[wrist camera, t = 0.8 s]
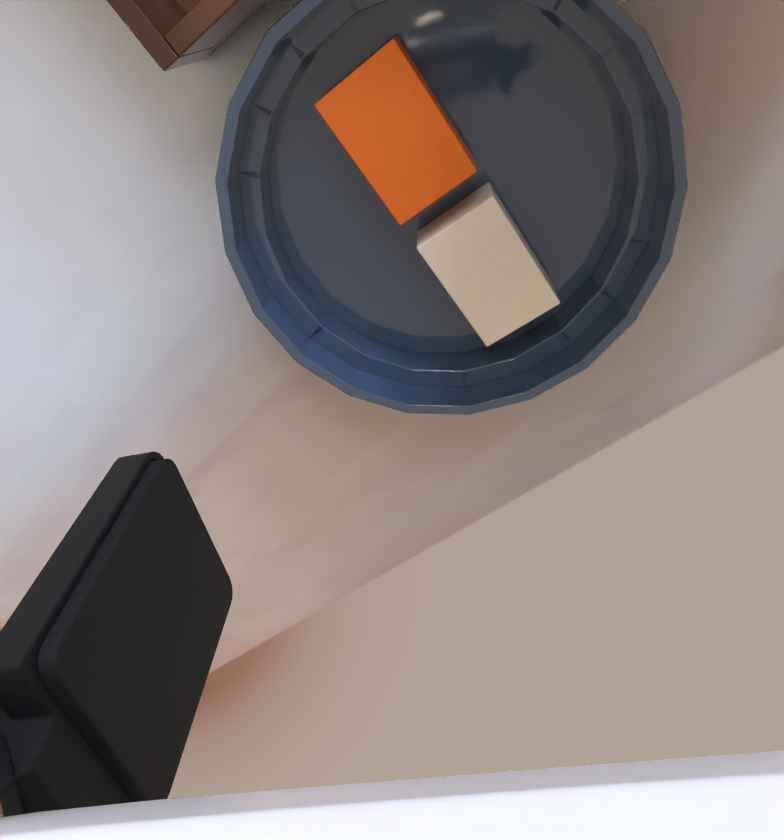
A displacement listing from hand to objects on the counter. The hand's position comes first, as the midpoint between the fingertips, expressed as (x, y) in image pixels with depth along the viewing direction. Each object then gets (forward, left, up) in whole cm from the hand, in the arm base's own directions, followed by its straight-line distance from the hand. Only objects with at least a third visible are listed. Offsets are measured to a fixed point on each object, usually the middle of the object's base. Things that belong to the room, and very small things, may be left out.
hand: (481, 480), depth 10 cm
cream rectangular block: (+1, +5, -24) cm, 24 cm away
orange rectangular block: (+1, -2, -24) cm, 24 cm away
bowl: (+1, +1, -24) cm, 24 cm away
